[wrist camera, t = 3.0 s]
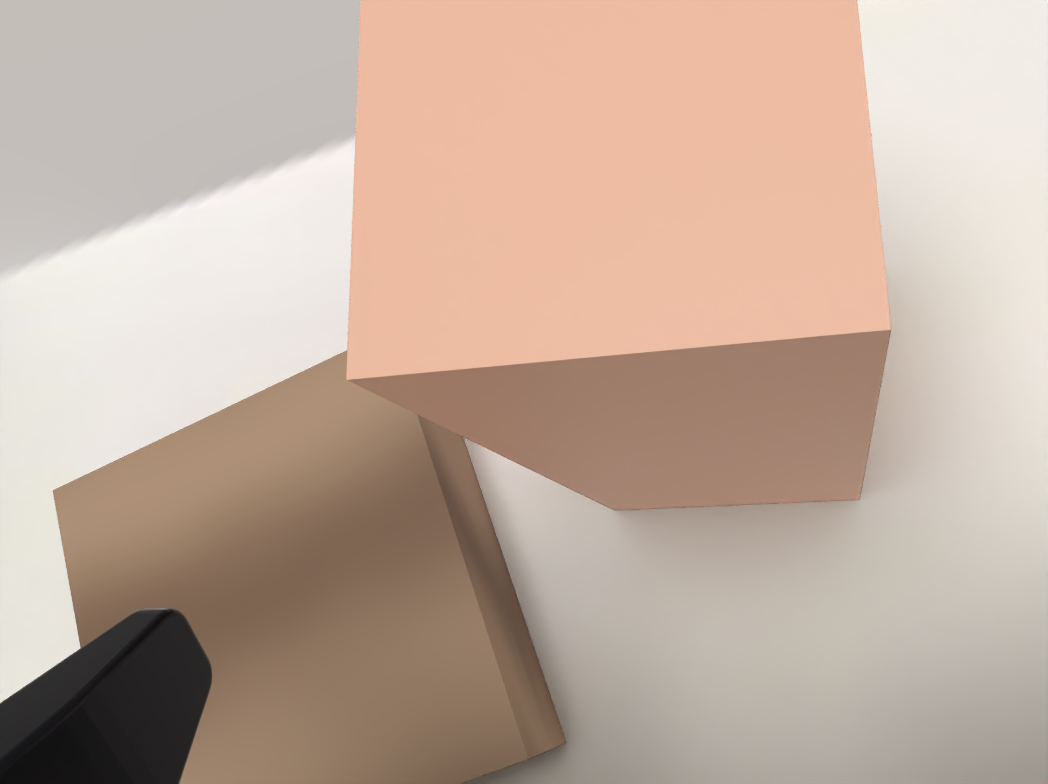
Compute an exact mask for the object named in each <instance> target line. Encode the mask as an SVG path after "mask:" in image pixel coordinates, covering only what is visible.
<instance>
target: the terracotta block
mask: <svg viewBox="0 0 1048 784" xmlns="http://www.w3.org/2000/svg"><path fill="white" fill-rule="evenodd" d="M890 333H891V323H890V314H889V304H888V294H887V285H886V275H885V265H884V256H883V246H882V236H881V227H880V217H879V207H878V197H877V188H876V178H875V168H874V159H873V149H872V139H871V130H870V120H869V110H868V101H867V91H866V81H865V71H864V62H863V52H862V42H861V33H860V23H859V13H858V4H857V0H361V7H360V33H359V61H358V86H357V112H356V139H355V165H354V191H353V217H352V244H351V270H350V296H349V323H348V349H347V375H346V380H348V381H350V382H352V383H354V384H356V385H358V386H360V387H362V388H364V389H366V390H368V391H370V392H372V393H374V394H376V395H378V396H380V397H382V398H385V399H387V400H389V401H391V402H393V403H395V404H397V405H399V406H401V407H403V408H405V409H407V410H409V411H411V412H413V413H415V414H417V415H419V416H421V417H424V418H426V419H428V420H430V421H432V422H434V423H436V424H438V425H440V426H442V427H444V428H446V429H448V430H450V431H452V432H454V433H456V434H458V435H460V436H463V437H465V438H467V439H469V440H471V441H473V442H475V443H477V444H479V445H481V446H483V447H485V448H487V449H489V450H491V451H493V452H495V453H497V454H499V455H502V456H504V457H506V458H508V459H510V460H512V461H514V462H516V463H518V464H520V465H522V466H524V467H526V468H528V469H530V470H532V471H534V472H536V473H538V474H541V475H543V476H545V477H547V478H549V479H551V480H553V481H555V482H557V483H559V484H561V485H563V486H565V487H567V488H569V489H571V490H573V491H575V492H577V493H580V494H582V495H584V496H586V497H588V498H590V499H592V500H594V501H596V502H598V503H600V504H602V505H604V506H606V507H608V508H610V509H612V510H633V509H656V508H680V507H703V506H726V505H750V504H773V503H796V502H820V501H843V500H860V495H861V490H862V484H863V479H864V473H865V468H866V463H867V457H868V452H869V446H870V441H871V436H872V430H873V425H874V419H875V414H876V409H877V403H878V398H879V392H880V387H881V382H882V376H883V371H884V365H885V360H886V355H887V349H888V344H889V338H890Z"/></svg>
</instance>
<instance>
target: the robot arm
mask: <svg viewBox="0 0 1048 784" xmlns="http://www.w3.org/2000/svg"><path fill="white" fill-rule="evenodd" d="M211 684H212V667H211V663H210V661H209V658H208V657H207V655H206V653H205V651H204V649H203V648H202V646H201V644H200V642H199V640H198V638H197V637H196V635H195V633H194V631H193V629H192V628H191V626H190V624H189V622H188V620H187V619H186V617H185V616H184V614H183V613H181V612H180V611H179V610H177V609H174V608H145V609H140V610H138V611H135V612H134V613H132V614H131V615H129V616H128V617H126V618H125V619H123V620H122V621H120V622H119V623H117V624H116V625H114V626H113V627H112V628H110V629H109V630H107V631H106V632H104V633H103V634H101V635H100V636H98V637H97V638H95V639H94V640H92V641H91V642H90V643H88V644H87V645H85V646H84V647H82V648H81V649H79V650H78V651H76V652H75V653H73V654H72V655H70V656H69V657H67V658H66V659H65V660H63V661H62V662H60V663H59V664H57V665H56V666H54V667H53V668H51V669H50V670H48V671H47V672H45V673H44V674H43V675H41V676H40V677H38V678H37V679H35V680H34V681H32V682H31V683H29V684H28V685H26V686H25V687H23V688H22V689H20V690H19V691H18V692H16V693H15V694H13V695H12V696H10V697H9V698H7V699H6V700H4V701H3V702H1V703H0V784H179V783H180V780H181V777H182V774H183V771H184V768H185V765H186V762H187V759H188V756H189V753H190V750H191V746H192V743H193V740H194V737H195V734H196V731H197V728H198V725H199V722H200V719H201V716H202V713H203V710H204V707H205V704H206V701H207V698H208V695H209V692H210V688H211Z"/></svg>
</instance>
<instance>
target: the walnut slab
mask: <svg viewBox="0 0 1048 784" xmlns="http://www.w3.org/2000/svg"><path fill="white" fill-rule="evenodd" d="M346 375H347V351H345V352H343V353H340V354H338V355H336V356H334V357H332V358H330V359H328V360H326V361H324V362H322V363H319V364H317V365H315V366H313V367H311V368H309V369H307V370H305V371H303V372H301V373H298V374H296V375H294V376H292V377H290V378H288V379H286V380H284V381H282V382H280V383H277V384H275V385H273V386H271V387H269V388H267V389H265V390H263V391H261V392H259V393H256V394H254V395H252V396H250V397H248V398H246V399H244V400H242V401H240V402H238V403H235V404H233V405H231V406H229V407H227V408H225V409H223V410H221V411H219V412H217V413H214V414H212V415H210V416H208V417H206V418H204V419H202V420H200V421H198V422H196V423H193V424H191V425H189V426H187V427H185V428H183V429H181V430H179V431H177V432H175V433H172V434H170V435H168V436H166V437H164V438H162V439H160V440H158V441H156V442H154V443H152V444H149V445H147V446H145V447H143V448H141V449H139V450H137V451H135V452H133V453H131V454H128V455H126V456H124V457H122V458H120V459H118V460H116V461H114V462H112V463H110V464H107V465H105V466H103V467H101V468H99V469H97V470H95V471H93V472H91V473H89V474H86V475H84V476H82V477H80V478H78V479H76V480H74V481H72V482H70V483H68V484H65V485H63V486H61V487H59V488H57V489H55V490H53V494H54V500H55V506H56V511H57V517H58V523H59V528H60V534H61V540H62V545H63V551H64V556H65V562H66V568H67V573H68V579H69V585H70V590H71V596H72V601H73V607H74V613H75V618H76V624H77V630H78V635H79V641H80V647H81V648H82V647H84V646H85V645H87V644H88V643H90V642H91V641H92V640H94V639H95V638H97V637H98V636H100V635H101V634H103V633H104V632H106V631H107V630H109V629H110V628H112V627H113V626H114V625H116V624H117V623H119V622H120V621H122V620H123V619H125V618H126V617H128V616H129V615H131V614H132V613H134V612H135V611H138V610H140V609H145V608H174V609H177V610H179V611H180V612H181V613H183V614H184V616H185V617H186V619H187V620H188V622H189V624H190V626H191V628H192V629H193V631H194V633H195V635H196V637H197V638H198V640H199V642H200V644H201V646H202V648H203V649H204V651H205V653H206V655H207V657H208V658H209V661H210V663H211V667H212V684H211V688H210V692H209V695H208V698H207V701H206V704H205V707H204V710H203V713H202V716H201V719H200V722H199V725H198V728H197V731H196V734H195V737H194V740H193V743H192V746H191V750H190V753H189V756H188V759H187V762H186V765H185V768H184V771H183V774H182V777H181V780H180V783H179V784H461V783H464V782H467V781H469V780H472V779H475V778H478V777H480V776H483V775H486V774H489V773H492V772H494V771H497V770H500V769H503V768H505V767H508V766H511V765H514V764H516V763H519V762H522V761H525V760H528V759H530V758H532V757H535V756H537V755H539V754H541V753H544V752H546V751H548V750H550V749H553V748H555V747H557V746H560V745H562V744H564V743H566V741H565V738H564V735H563V732H562V729H561V726H560V723H559V720H558V717H557V714H556V711H555V708H554V705H553V702H552V699H551V696H550V693H549V690H548V687H547V684H546V681H545V678H544V675H543V672H542V670H541V667H540V664H539V661H538V658H537V655H536V652H535V649H534V646H533V643H532V640H531V637H530V634H529V631H528V628H527V625H526V622H525V619H524V616H523V613H522V610H521V607H520V604H519V601H518V599H517V596H516V593H515V590H514V587H513V584H512V581H511V578H510V575H509V572H508V569H507V566H506V563H505V560H504V557H503V554H502V551H501V548H500V545H499V542H498V539H497V536H496V533H495V530H494V527H493V525H492V522H491V519H490V516H489V513H488V510H487V507H486V504H485V501H484V498H483V495H482V492H481V489H480V486H479V483H478V480H477V477H476V474H475V471H474V468H473V465H472V462H471V459H470V456H469V454H468V451H467V448H466V445H465V442H464V439H463V436H460V435H458V434H456V433H454V432H452V431H450V430H448V429H446V428H444V427H442V426H440V425H438V424H436V423H434V422H432V421H430V420H428V419H426V418H424V417H421V416H419V415H417V414H415V413H413V412H411V411H409V410H407V409H405V408H403V407H401V406H399V405H397V404H395V403H393V402H391V401H389V400H387V399H385V398H382V397H380V396H378V395H376V394H374V393H372V392H370V391H368V390H366V389H364V388H362V387H360V386H358V385H356V384H354V383H352V382H350V381H348V380H346Z"/></svg>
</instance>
